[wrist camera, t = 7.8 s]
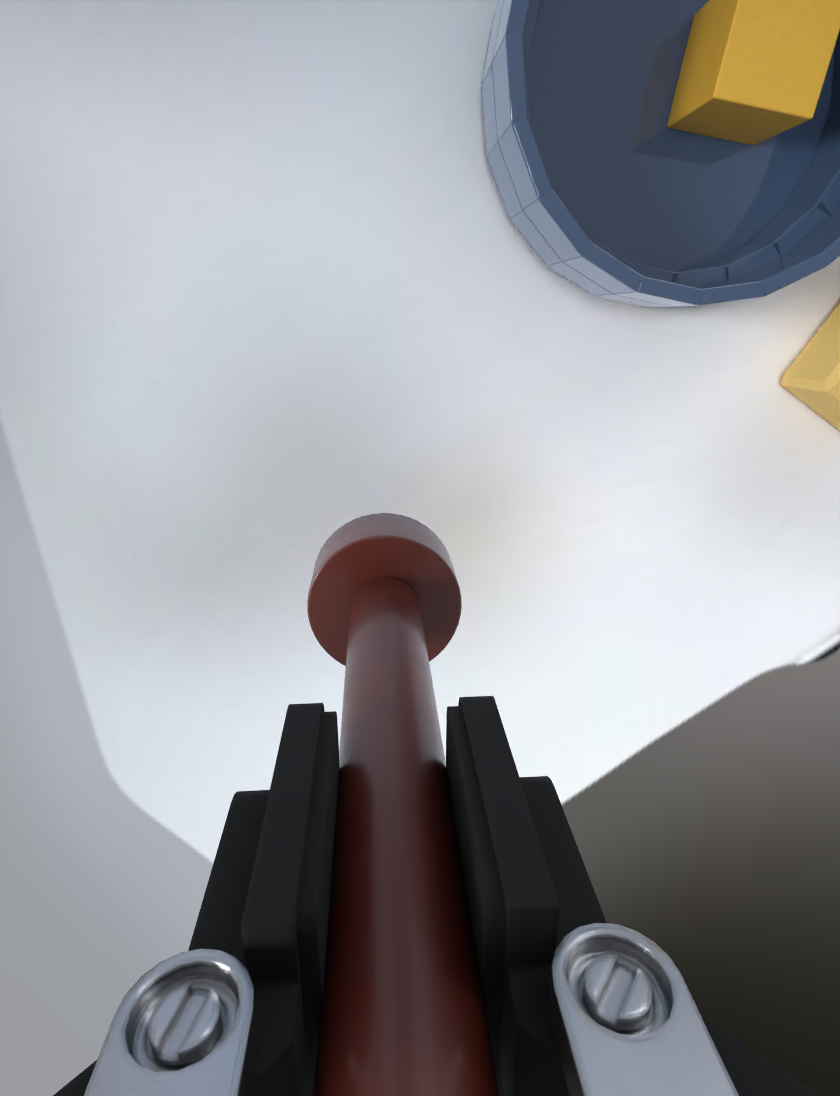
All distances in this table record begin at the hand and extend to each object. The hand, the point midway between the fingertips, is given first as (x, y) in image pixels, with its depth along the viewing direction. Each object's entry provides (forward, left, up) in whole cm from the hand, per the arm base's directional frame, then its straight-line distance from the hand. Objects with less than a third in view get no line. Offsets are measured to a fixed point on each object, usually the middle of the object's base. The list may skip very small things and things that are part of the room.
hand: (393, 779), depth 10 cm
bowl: (+4, +20, -23) cm, 31 cm away
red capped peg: (0, 0, -9) cm, 9 cm away
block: (+5, +21, -22) cm, 31 cm away
